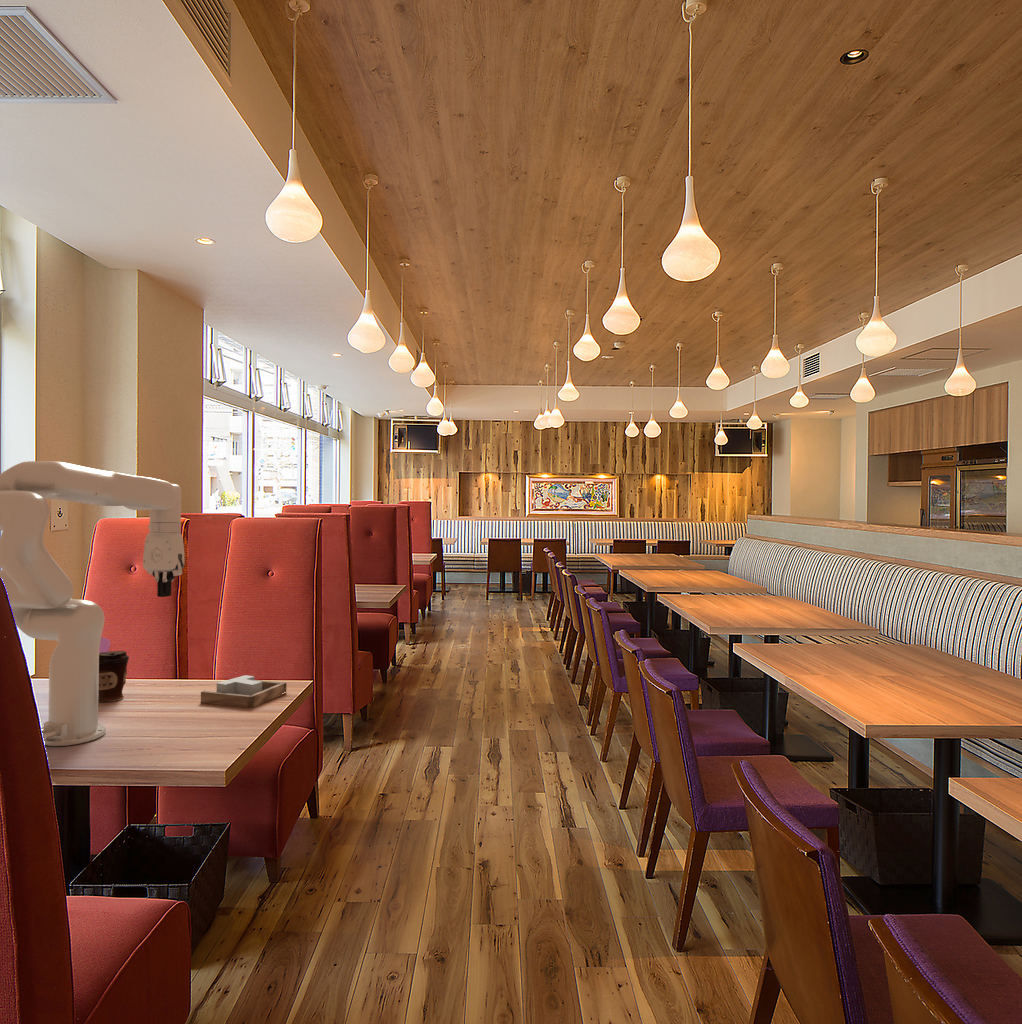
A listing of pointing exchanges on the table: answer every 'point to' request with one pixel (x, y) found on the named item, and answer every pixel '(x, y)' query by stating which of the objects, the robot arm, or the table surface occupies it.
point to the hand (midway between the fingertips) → (164, 596)
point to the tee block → (240, 685)
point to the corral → (245, 696)
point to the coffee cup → (112, 675)
